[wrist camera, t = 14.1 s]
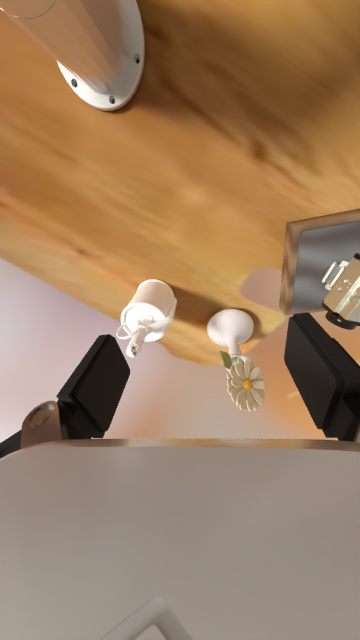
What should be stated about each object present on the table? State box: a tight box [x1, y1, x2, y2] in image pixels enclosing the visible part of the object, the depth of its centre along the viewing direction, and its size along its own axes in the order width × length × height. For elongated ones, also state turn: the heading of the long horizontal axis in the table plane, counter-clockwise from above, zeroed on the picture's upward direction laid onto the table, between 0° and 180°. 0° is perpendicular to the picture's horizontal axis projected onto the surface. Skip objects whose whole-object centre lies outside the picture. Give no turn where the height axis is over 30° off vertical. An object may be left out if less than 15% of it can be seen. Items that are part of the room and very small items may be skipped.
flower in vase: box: [207, 309, 266, 411], centre depth 39 cm, size 13×11×25 cm
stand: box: [279, 209, 360, 315], centre depth 37 cm, size 18×12×5 cm, turn 11°
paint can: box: [116, 279, 177, 357], centre depth 38 cm, size 10×9×20 cm
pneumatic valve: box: [321, 253, 360, 330], centre depth 30 cm, size 6×12×12 cm, turn 170°
